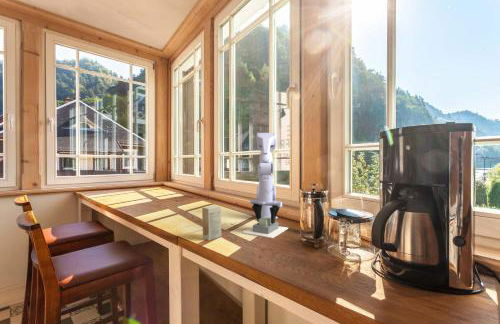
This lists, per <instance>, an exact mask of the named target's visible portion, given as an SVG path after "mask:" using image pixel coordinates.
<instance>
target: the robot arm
mask: <svg viewBox="0 0 500 324" xmlns="http://www.w3.org/2000/svg"><path fill="white" fill-rule="evenodd" d="M276 145H277V133H276V132H257V133H256V147H257V150H258V151H260V153H259V163H258V164H257V175H258V185H257V186H256V198H255V199H253V198H252V199H249V204H250V205H251V208H252V210H253V212H254V214H255V217H256V219H255V220H256V222H257V223H259V219H260V218H263V217H265V216H267V217H271V224H274V223H275V222H276V220H277V219H279V217H278V216H277V215H278V212H279V210H280V209H281V208H282V207H283V202H282V201H279V200H278V201H277V187H276V185H275V184H274V183H273V175H274V161H273V153H272V152H273V151H274V150H276V147H277V146H276Z"/></svg>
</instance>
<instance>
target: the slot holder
mask: <svg viewBox="0 0 500 324" xmlns="http://www.w3.org/2000/svg"><path fill="white" fill-rule="evenodd" d="M279 224H280V223H279V221H275V223H274V224H271V225H269V226H260V225H259V222H257V223H254V224H253V225H252V227H250V228H247V229H246V230H244V231H242V232H241V234H245V235H251V236H257V237H260V238H261V237H262V238H268V239H274V238H275V237H277V236H279V235H281V234H282V233H283V232H285V231H286V230H288V229H289V227H288V226H287V227H286V226H279Z"/></svg>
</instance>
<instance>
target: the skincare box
mask: <svg viewBox="0 0 500 324" xmlns="http://www.w3.org/2000/svg"><path fill="white" fill-rule="evenodd" d="M201 211H202V212H201V213H202V216H201V217H202V238H203V239H204V240H207V241H212V240H215V239H218V238H220V237H221V238H222V212H221V211H222V207H221V206H219V205H214V204H213V205H209V206H208V205H207V206H203V207H202V208H201Z"/></svg>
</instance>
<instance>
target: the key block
mask: <svg viewBox="0 0 500 324" xmlns="http://www.w3.org/2000/svg"><path fill="white" fill-rule="evenodd" d="M258 223H259V225H260V226H269V225H271V217H267V216H265V217H263V218H260V219H259V222H258Z"/></svg>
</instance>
